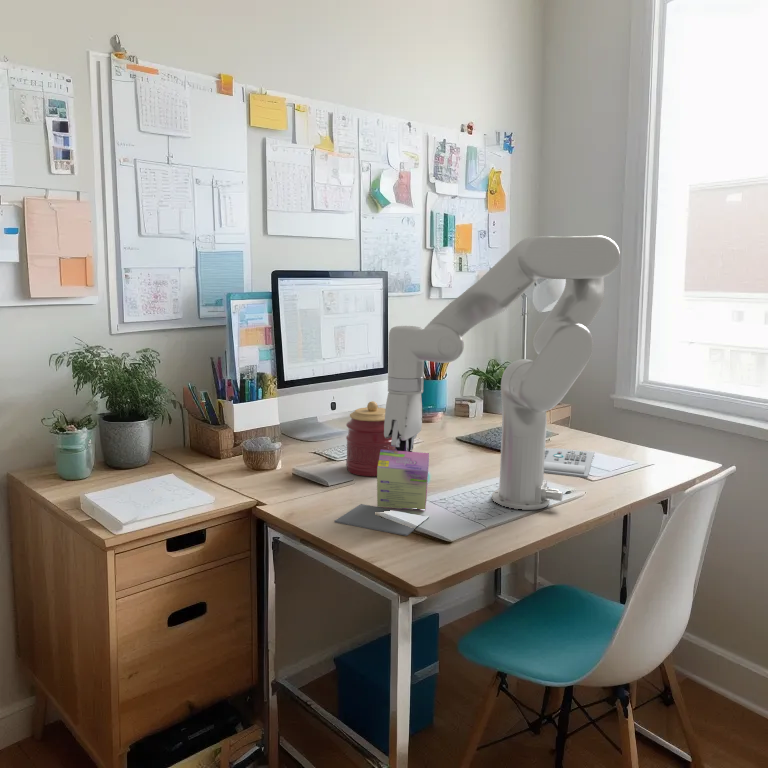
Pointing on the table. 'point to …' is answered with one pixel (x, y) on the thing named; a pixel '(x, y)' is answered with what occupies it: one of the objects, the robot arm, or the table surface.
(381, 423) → the canister
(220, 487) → the table surface
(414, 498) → the box
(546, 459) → the office telephone
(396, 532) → the mat
